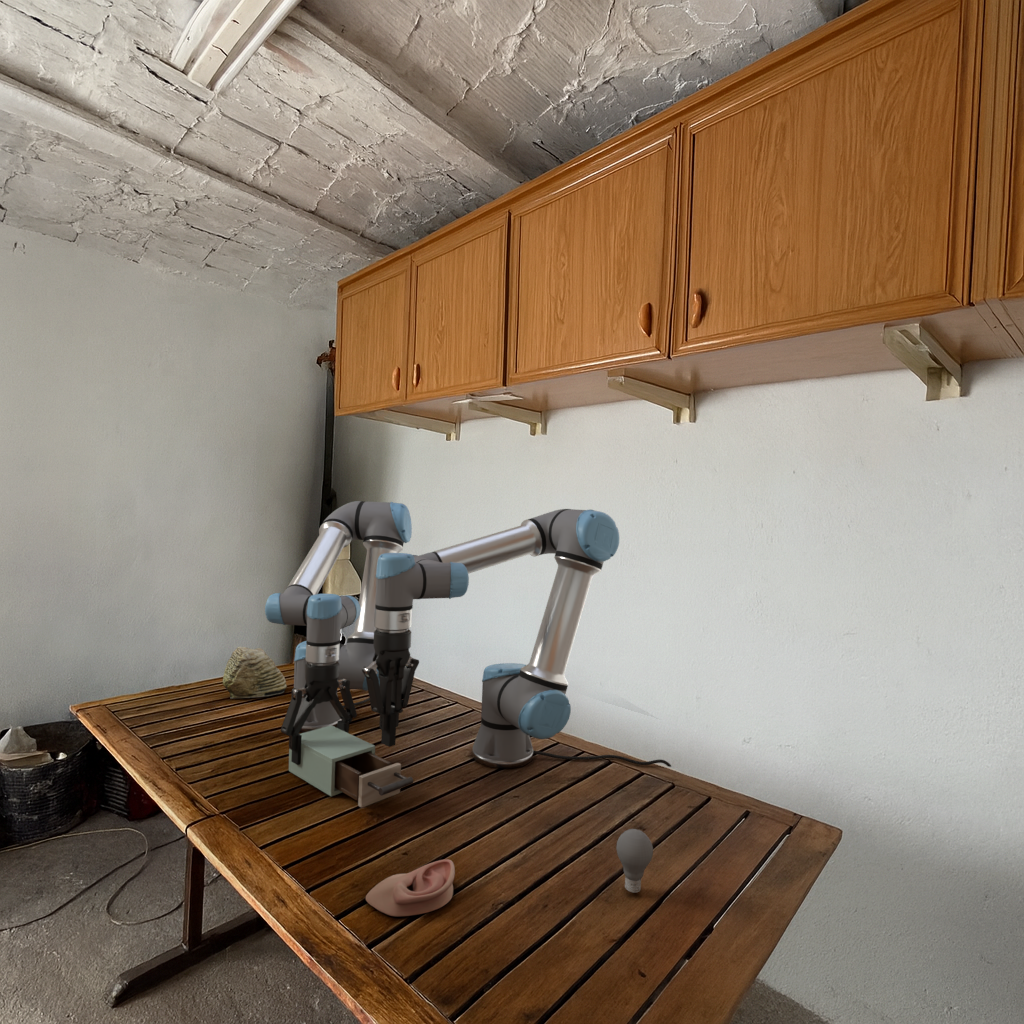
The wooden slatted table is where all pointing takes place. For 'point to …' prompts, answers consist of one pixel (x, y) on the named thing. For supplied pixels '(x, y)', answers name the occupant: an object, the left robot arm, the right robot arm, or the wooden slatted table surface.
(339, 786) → the drawer
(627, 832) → the light bulb
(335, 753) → the cabinet
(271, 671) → the fossil
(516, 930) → the wooden slatted table surface
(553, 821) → the wooden slatted table surface
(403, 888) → the anatomical model
